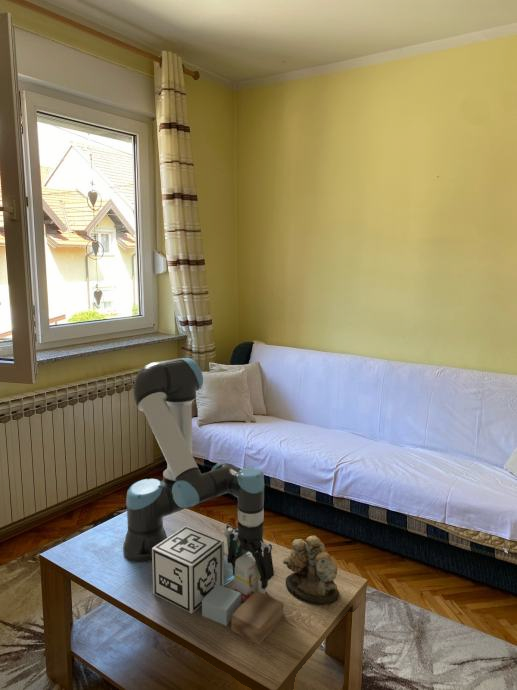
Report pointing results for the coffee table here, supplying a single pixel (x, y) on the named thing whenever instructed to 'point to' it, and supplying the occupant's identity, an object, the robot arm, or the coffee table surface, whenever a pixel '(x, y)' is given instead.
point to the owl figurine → (311, 572)
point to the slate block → (221, 604)
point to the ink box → (246, 576)
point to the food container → (227, 532)
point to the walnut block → (257, 617)
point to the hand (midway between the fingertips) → (249, 590)
